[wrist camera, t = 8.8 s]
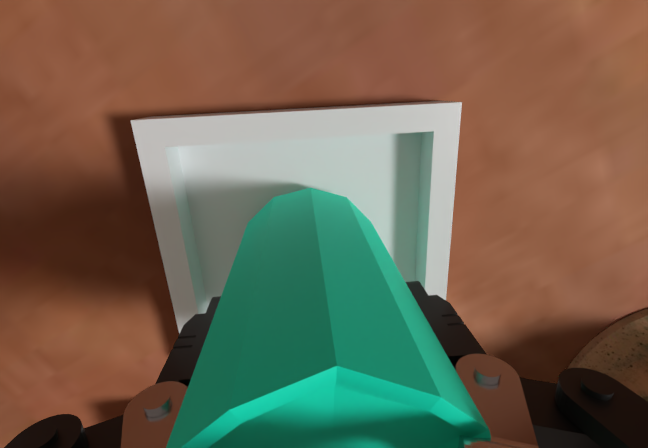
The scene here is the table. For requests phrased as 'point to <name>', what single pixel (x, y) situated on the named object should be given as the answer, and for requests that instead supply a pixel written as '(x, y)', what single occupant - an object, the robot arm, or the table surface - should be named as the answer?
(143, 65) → the table surface
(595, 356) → the mug
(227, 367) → the candle
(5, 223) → the table surface
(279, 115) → the white square tray
